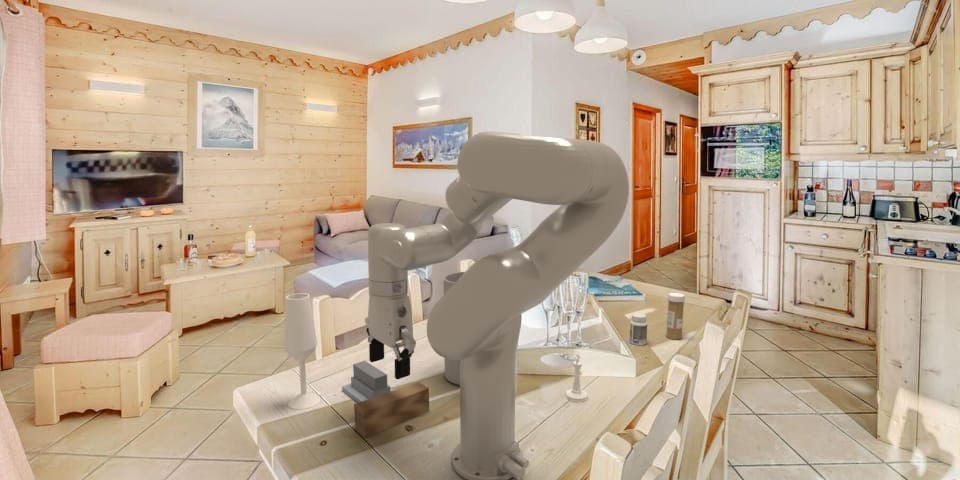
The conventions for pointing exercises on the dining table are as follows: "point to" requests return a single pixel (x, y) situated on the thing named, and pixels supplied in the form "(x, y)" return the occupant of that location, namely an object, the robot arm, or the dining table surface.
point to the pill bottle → (638, 329)
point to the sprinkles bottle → (675, 315)
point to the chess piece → (576, 384)
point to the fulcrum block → (366, 382)
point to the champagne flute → (300, 342)
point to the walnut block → (391, 408)
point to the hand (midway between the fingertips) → (389, 368)
